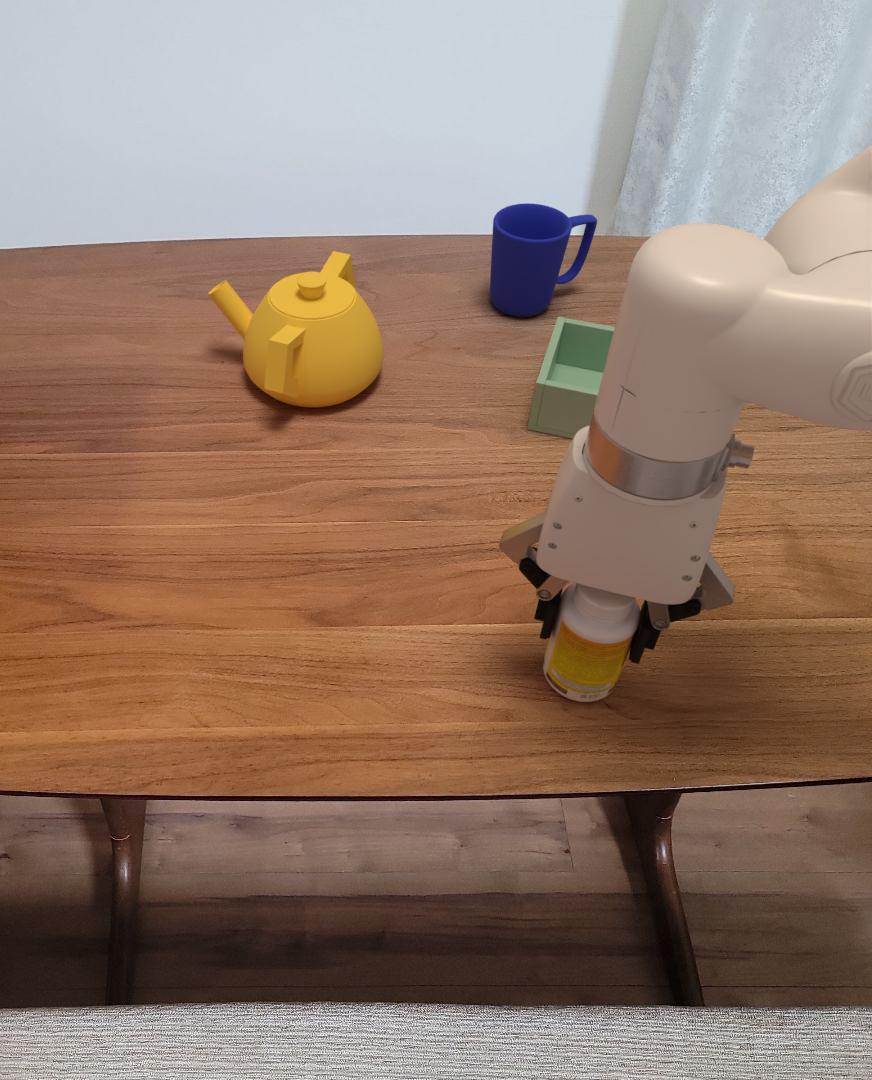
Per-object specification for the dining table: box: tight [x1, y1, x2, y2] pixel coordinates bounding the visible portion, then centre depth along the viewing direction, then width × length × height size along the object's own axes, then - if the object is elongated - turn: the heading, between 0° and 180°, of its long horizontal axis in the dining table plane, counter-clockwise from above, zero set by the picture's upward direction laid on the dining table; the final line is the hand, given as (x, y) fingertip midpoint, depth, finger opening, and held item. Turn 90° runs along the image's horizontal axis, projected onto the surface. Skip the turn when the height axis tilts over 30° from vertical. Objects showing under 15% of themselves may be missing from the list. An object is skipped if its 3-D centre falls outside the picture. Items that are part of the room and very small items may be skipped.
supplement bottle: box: [542, 582, 641, 703], centre depth 66 cm, size 6×6×10 cm
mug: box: [489, 203, 598, 318], centre depth 102 cm, size 8×12×10 cm
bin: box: [526, 316, 615, 440], centre depth 90 cm, size 13×12×6 cm
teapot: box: [207, 250, 384, 408], centre depth 92 cm, size 20×18×11 cm
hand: (591, 634), depth 66 cm, fingers closed on supplement bottle, 5 cm apart
